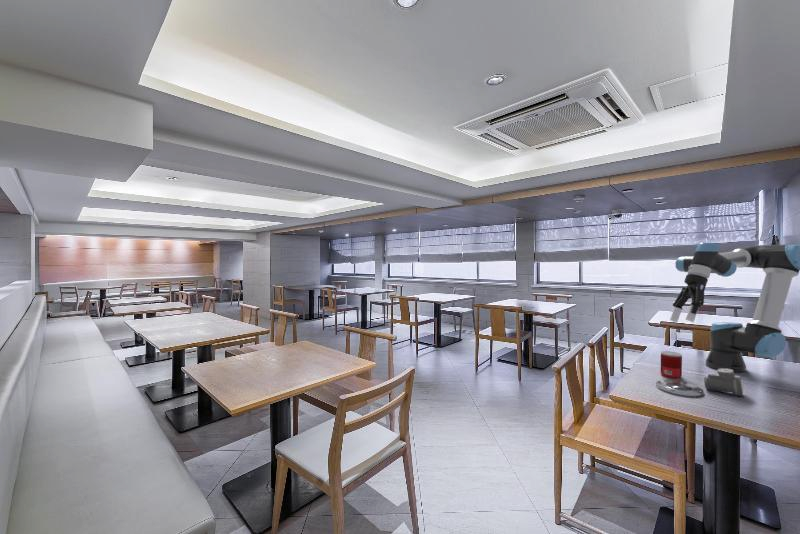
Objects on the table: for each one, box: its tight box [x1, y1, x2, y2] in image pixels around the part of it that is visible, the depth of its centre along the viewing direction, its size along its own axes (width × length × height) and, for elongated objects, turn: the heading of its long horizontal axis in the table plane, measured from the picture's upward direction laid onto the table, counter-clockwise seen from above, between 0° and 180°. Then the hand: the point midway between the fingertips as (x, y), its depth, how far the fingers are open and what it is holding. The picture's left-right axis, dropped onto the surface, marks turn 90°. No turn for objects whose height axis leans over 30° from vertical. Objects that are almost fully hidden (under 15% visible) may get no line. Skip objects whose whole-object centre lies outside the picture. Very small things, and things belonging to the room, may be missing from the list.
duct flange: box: [655, 379, 704, 398], centre depth 151 cm, size 16×16×2 cm
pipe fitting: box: [703, 368, 745, 397], centre depth 147 cm, size 12×8×10 cm
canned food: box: [660, 350, 683, 380], centre depth 167 cm, size 8×8×11 cm
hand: (681, 321), depth 153 cm, fingers open, 13 cm apart
